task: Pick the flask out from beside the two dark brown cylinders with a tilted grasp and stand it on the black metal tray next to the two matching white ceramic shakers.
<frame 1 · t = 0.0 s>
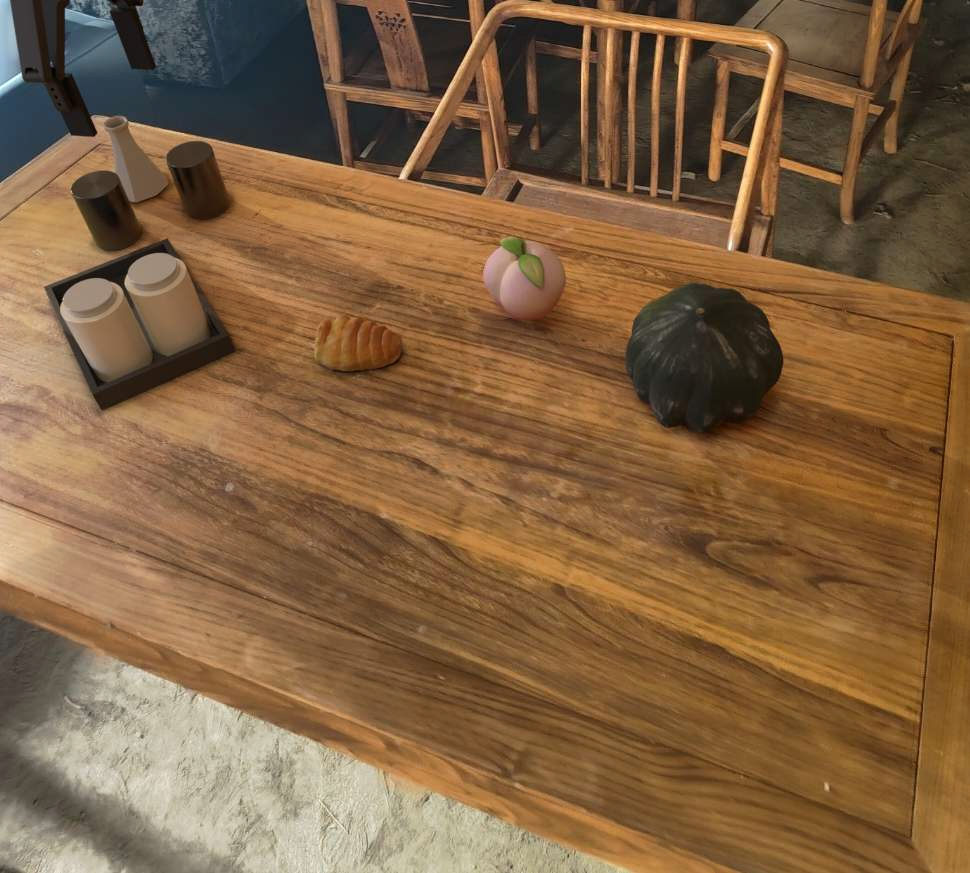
hand: (115, 100, 100), 22 cm above the table, tool pointing down, fingers open, 13 cm apart
dark brown cylinder 2: (208, 206, 124), on the table
white shaker 1: (123, 362, 104), point 1 cm above the table, touching black tray
dark brown cylinder 1: (119, 236, 121), on the table
black tray: (140, 326, 109), on the table
white shaker 2: (182, 336, 106), point 1 cm above the table, touching black tray
flask: (142, 189, 128), on the table
decorative fruit: (528, 314, 105), on the table
squash: (697, 399, 95), on the table
pastry: (356, 353, 103), on the table
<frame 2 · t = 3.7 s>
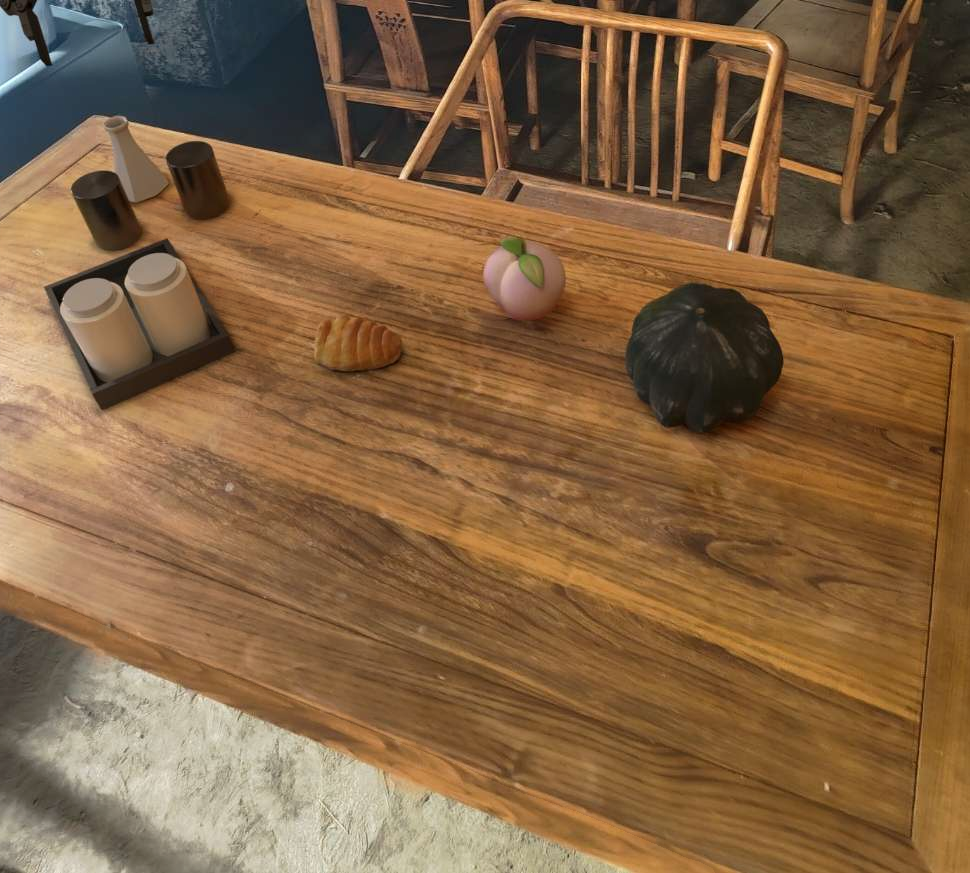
hand: (98, 51, 123), 15 cm above the table, tool tilted 45°, fingers open, 13 cm apart
nothing on the table moved.
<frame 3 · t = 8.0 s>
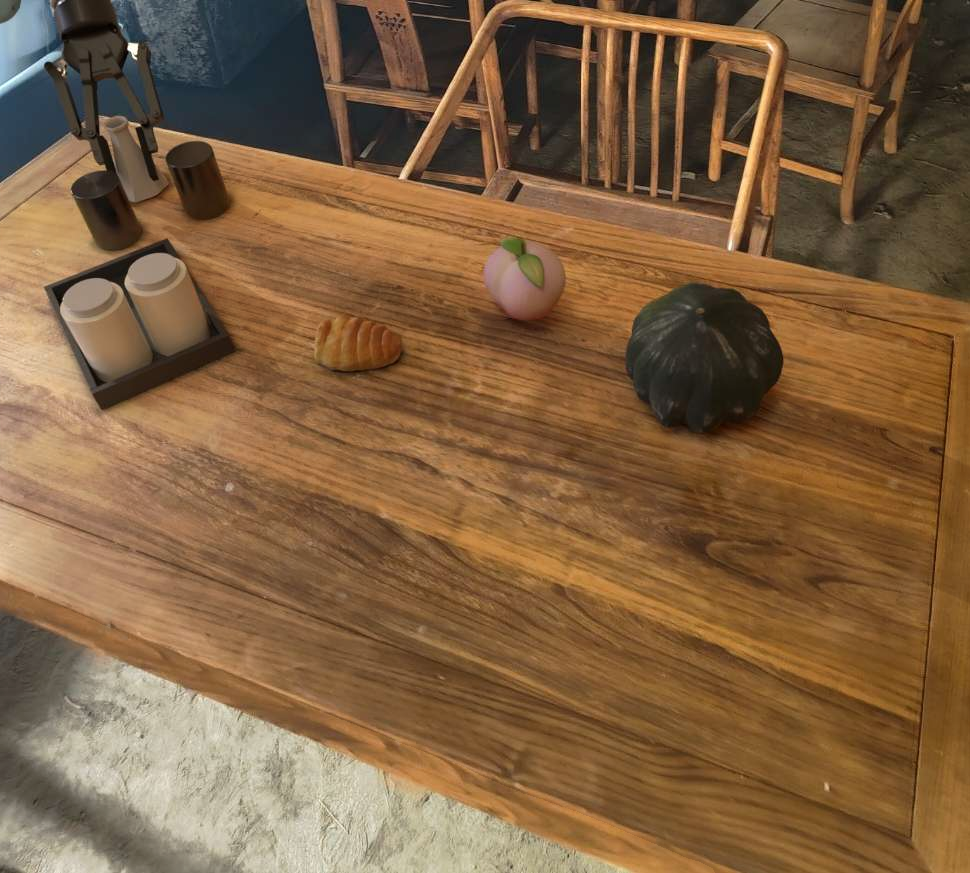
hand: (135, 182, 123), 3 cm above the table, tool tilted 45°, fingers closed on flask, 4 cm apart
flask: (142, 189, 128), on the table, touching gripper
everything else where it was.
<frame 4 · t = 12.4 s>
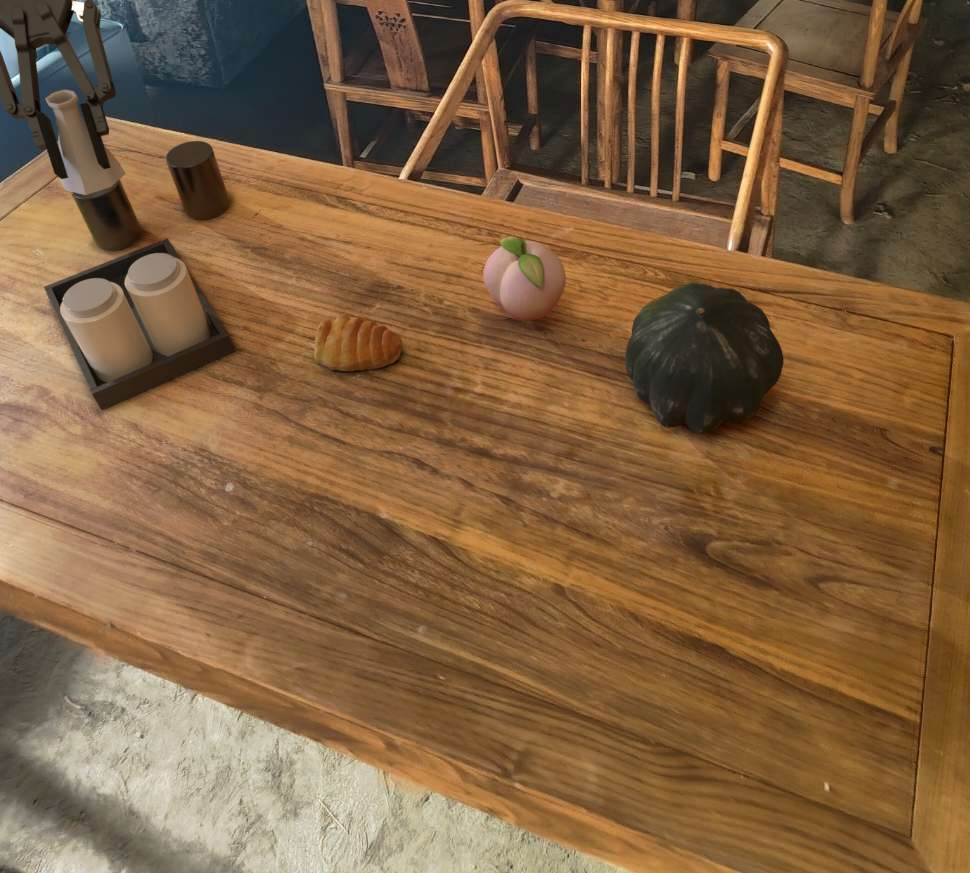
hand: (82, 170, 102), 16 cm above the table, tool tilted 45°, fingers closed on flask, 4 cm apart
flask: (94, 179, 107), point 13 cm above the table, touching gripper
everything else where it was.
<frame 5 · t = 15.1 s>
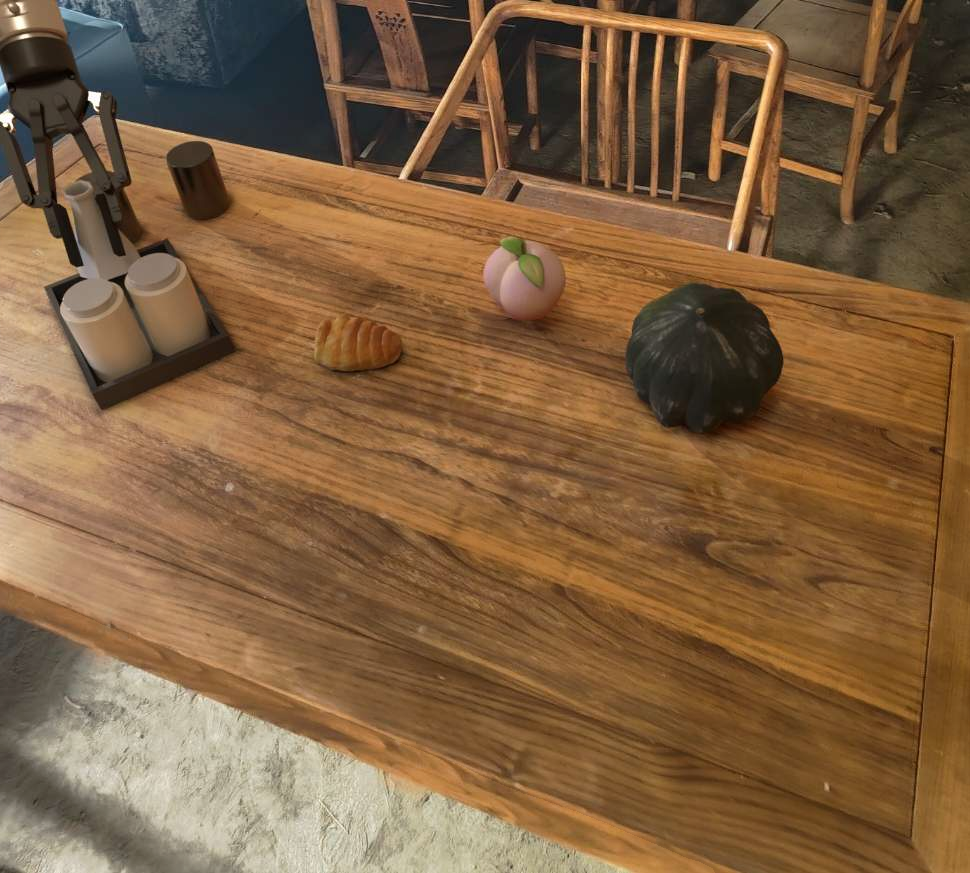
hand: (98, 259, 102), 10 cm above the table, tool tilted 45°, fingers closed on flask, 4 cm apart
flask: (109, 264, 107), point 6 cm above the table, touching gripper
everything else where it was.
when the fingers open (4 cm above the table, at t = 16.8 s): flask stays where it is, resting on black tray.
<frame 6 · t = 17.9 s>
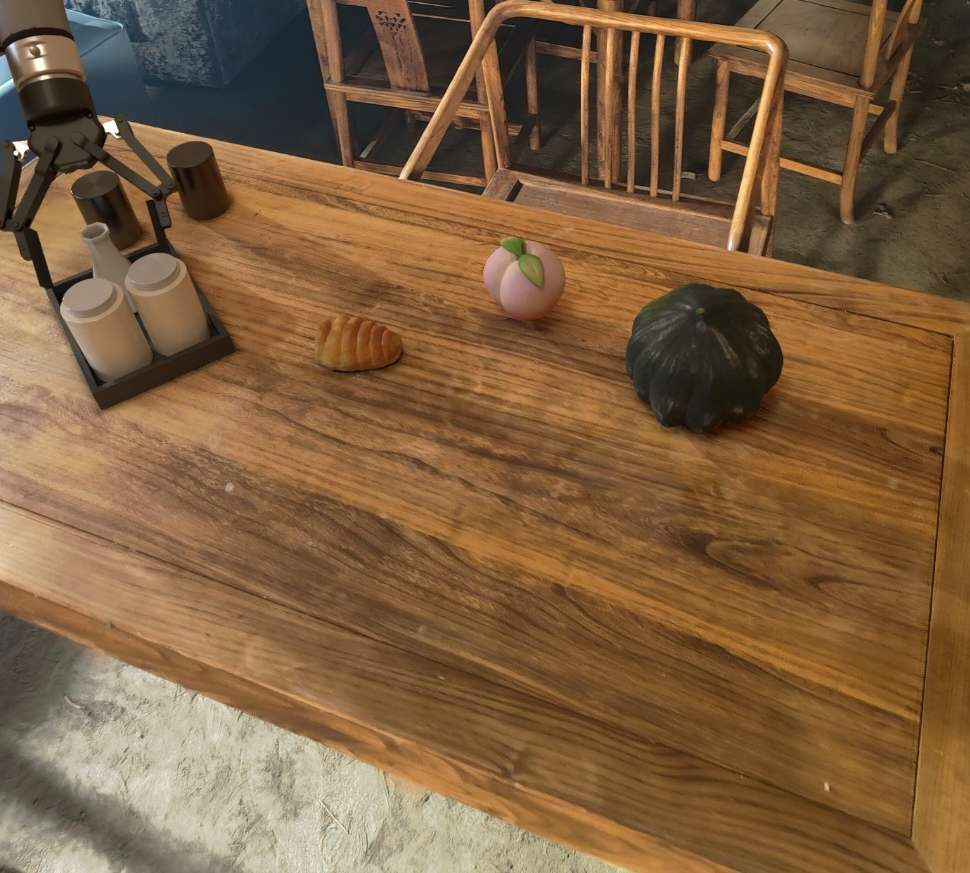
hand: (107, 272, 106), 6 cm above the table, tool tilted 45°, fingers open, 13 cm apart
flask: (127, 300, 112), resting on black tray
everything else where it was.
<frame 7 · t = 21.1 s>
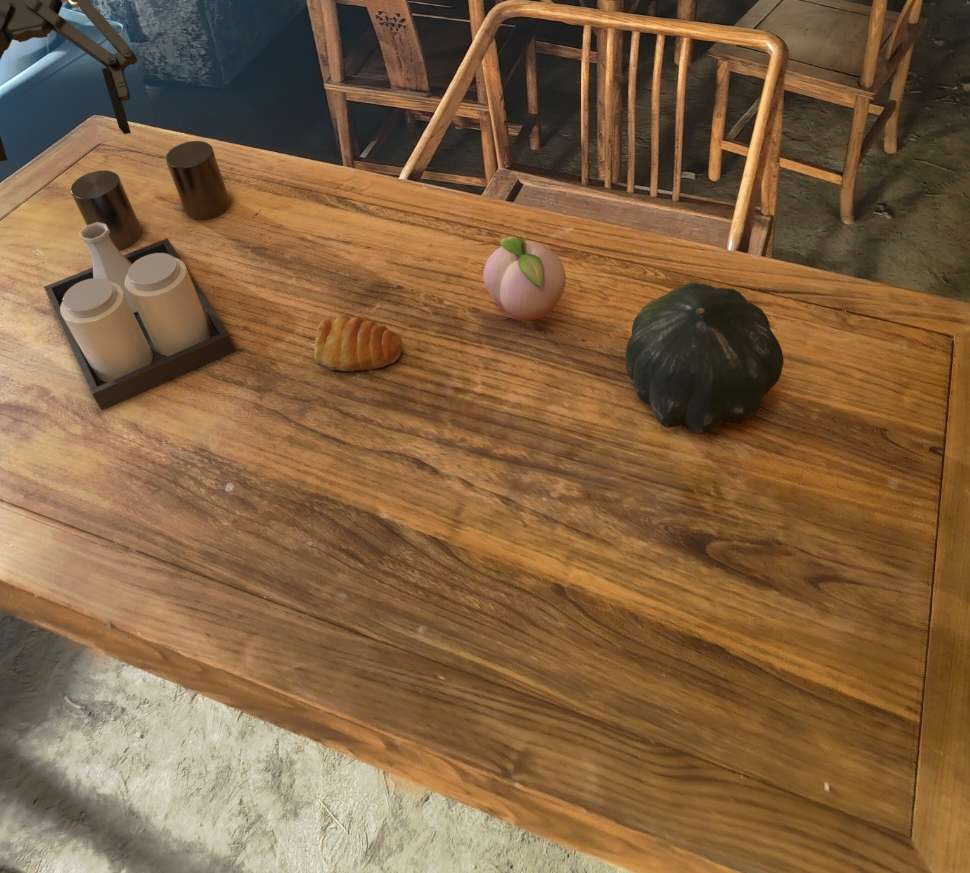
hand: (63, 144, 103), 18 cm above the table, tool tilted 45°, fingers open, 13 cm apart
nothing on the table moved.
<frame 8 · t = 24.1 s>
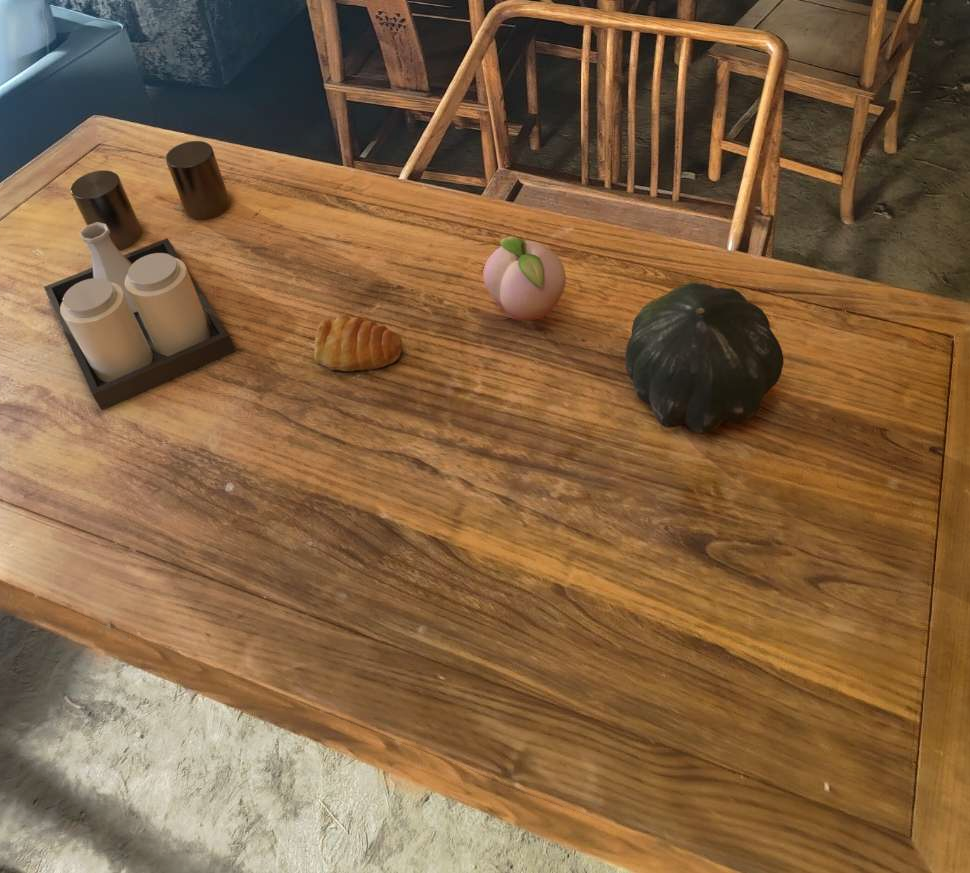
nothing on the table moved.
at the end: flask inside the target area in the black tray (5.1 cm from its centre), point 0.4 cm above the black tray's base; flask tilted 0°; flask 11.2 cm from the white shaker 1 (horizontally) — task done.
